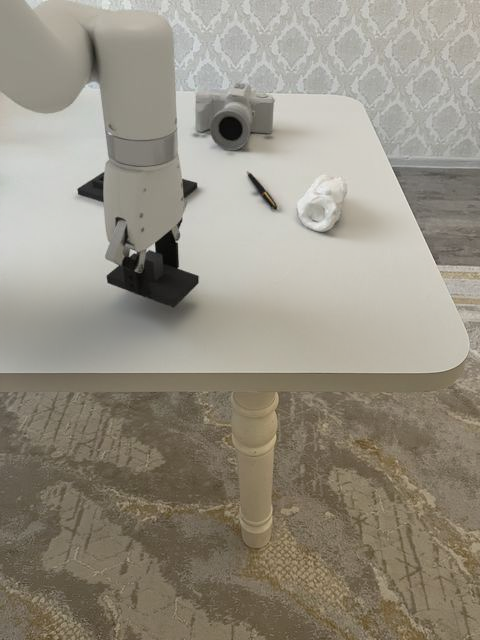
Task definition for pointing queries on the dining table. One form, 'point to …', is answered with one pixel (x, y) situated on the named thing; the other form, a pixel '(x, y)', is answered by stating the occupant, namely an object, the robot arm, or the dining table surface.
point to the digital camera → (233, 114)
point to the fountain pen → (262, 191)
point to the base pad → (96, 186)
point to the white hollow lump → (322, 203)
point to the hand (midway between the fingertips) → (153, 278)
